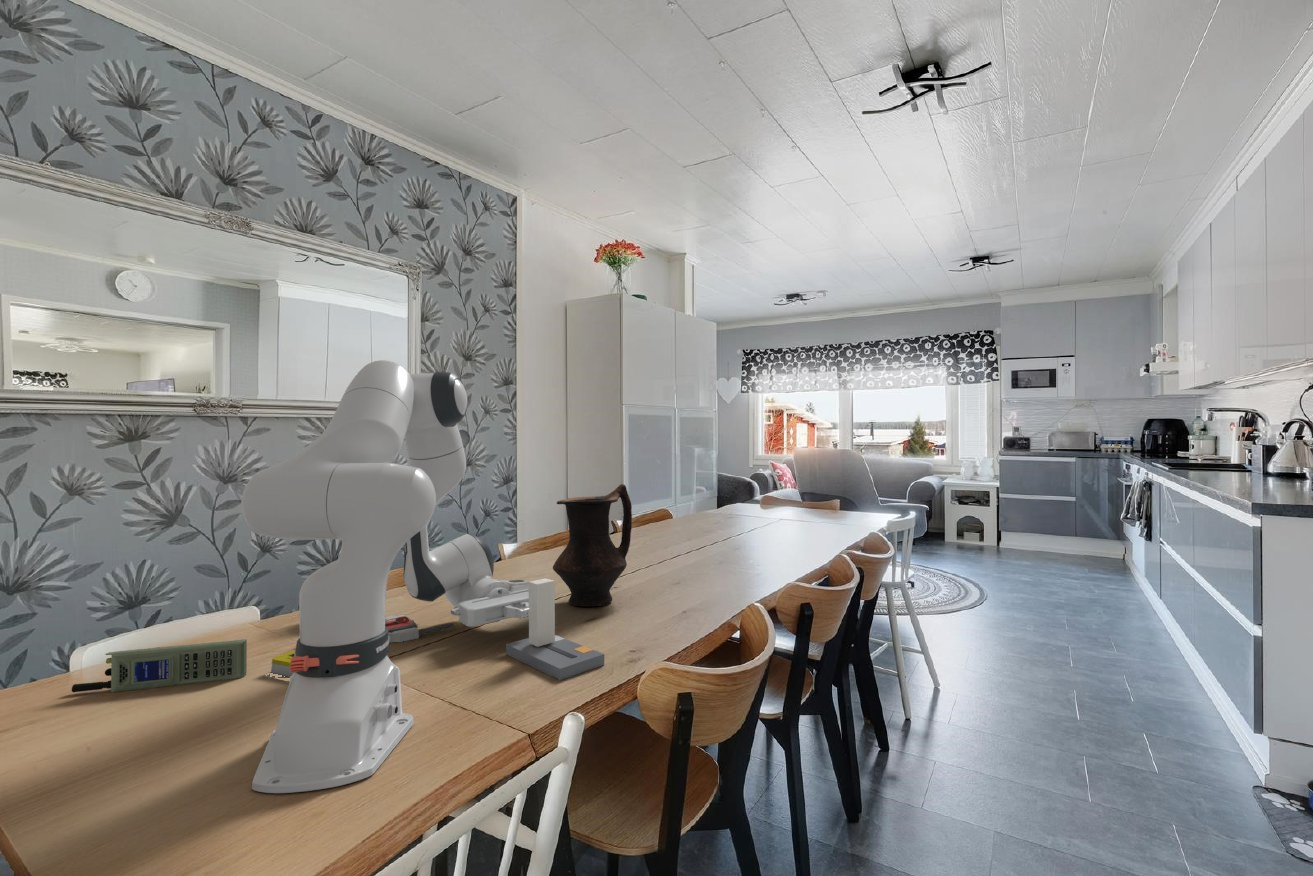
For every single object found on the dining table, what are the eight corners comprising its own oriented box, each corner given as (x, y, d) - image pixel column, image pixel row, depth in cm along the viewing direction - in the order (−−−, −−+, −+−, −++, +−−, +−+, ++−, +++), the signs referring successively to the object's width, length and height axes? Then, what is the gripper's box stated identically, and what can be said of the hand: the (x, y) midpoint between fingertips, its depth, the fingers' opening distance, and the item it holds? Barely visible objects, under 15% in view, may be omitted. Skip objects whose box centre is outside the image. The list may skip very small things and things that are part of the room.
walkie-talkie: (357, 654, 121) (455, 632, 134) (356, 631, 121) (455, 612, 134) (346, 642, 128) (440, 623, 141) (345, 621, 128) (440, 604, 141)
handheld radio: (242, 680, 108) (66, 700, 100) (248, 674, 111) (78, 693, 104) (242, 642, 108) (66, 659, 101) (248, 637, 111) (78, 653, 104)
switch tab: (529, 643, 119) (528, 581, 119) (546, 638, 122) (545, 578, 122) (537, 646, 117) (537, 584, 117) (554, 641, 120) (554, 580, 119)
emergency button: (260, 654, 109) (333, 629, 123) (260, 679, 109) (333, 651, 123) (296, 662, 106) (367, 635, 119) (296, 687, 106) (367, 657, 120)
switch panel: (506, 654, 119) (506, 643, 119) (548, 641, 126) (548, 631, 126) (560, 680, 106) (560, 668, 106) (604, 664, 113) (604, 653, 113)
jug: (568, 617, 143) (567, 490, 143) (543, 599, 159) (542, 484, 159) (648, 605, 153) (647, 486, 153) (616, 589, 169) (615, 481, 169)
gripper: (446, 595, 125) (479, 608, 115) (531, 578, 140) (567, 588, 130) (446, 625, 125) (480, 641, 115) (531, 605, 140) (567, 618, 130)
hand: (527, 613), depth 123 cm, fingers closed
